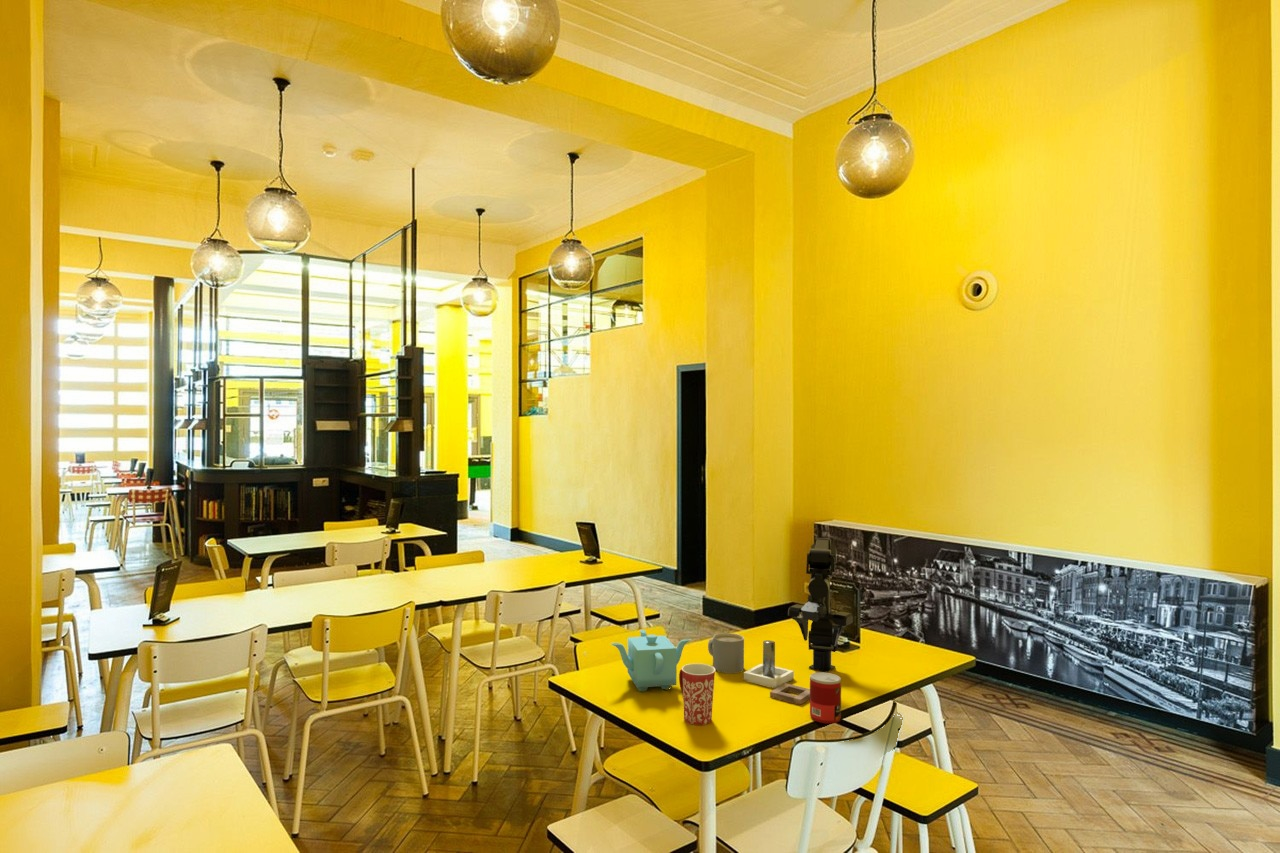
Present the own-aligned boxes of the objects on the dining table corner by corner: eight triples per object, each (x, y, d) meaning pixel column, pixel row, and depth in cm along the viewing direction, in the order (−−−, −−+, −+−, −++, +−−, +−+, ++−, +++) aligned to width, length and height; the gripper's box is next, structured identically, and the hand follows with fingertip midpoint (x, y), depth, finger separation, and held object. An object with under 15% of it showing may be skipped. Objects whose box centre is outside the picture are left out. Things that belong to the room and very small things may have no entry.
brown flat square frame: (785, 688, 208) (785, 683, 208) (814, 695, 202) (814, 690, 203) (770, 697, 201) (770, 691, 201) (800, 705, 195) (800, 699, 195)
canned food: (842, 725, 181) (842, 682, 182) (810, 722, 183) (810, 680, 183) (839, 714, 189) (839, 673, 189) (809, 711, 191) (809, 671, 191)
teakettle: (662, 700, 198) (662, 648, 198) (607, 687, 208) (608, 637, 208) (693, 681, 214) (693, 632, 214) (641, 669, 224) (641, 623, 224)
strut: (770, 675, 218) (770, 639, 218) (777, 678, 215) (777, 642, 215) (760, 676, 216) (760, 641, 217) (767, 680, 213) (767, 644, 213)
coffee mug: (750, 670, 224) (750, 639, 225) (725, 675, 219) (725, 643, 220) (725, 658, 236) (725, 629, 236) (700, 663, 231) (701, 632, 231)
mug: (722, 723, 182) (722, 671, 183) (692, 729, 178) (693, 676, 178) (696, 706, 193) (696, 657, 194) (667, 712, 189) (668, 662, 190)
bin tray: (761, 671, 223) (761, 663, 223) (793, 679, 216) (793, 670, 216) (743, 680, 215) (743, 672, 215) (776, 688, 208) (776, 680, 208)
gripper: (779, 591, 212) (779, 643, 211) (838, 600, 200) (838, 655, 200) (796, 585, 220) (796, 635, 220) (853, 594, 209) (853, 646, 208)
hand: (819, 643), depth 212 cm, fingers open, 9 cm apart
